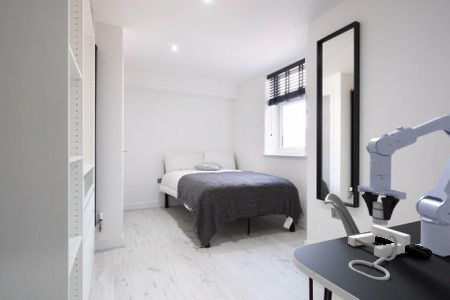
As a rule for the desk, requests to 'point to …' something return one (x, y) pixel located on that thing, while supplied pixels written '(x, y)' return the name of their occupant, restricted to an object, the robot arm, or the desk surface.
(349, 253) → the desk surface
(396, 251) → the hook
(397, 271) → the desk surface
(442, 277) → the desk surface
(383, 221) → the white ridged cylinder
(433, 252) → the robot arm
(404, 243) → the notched shelf
